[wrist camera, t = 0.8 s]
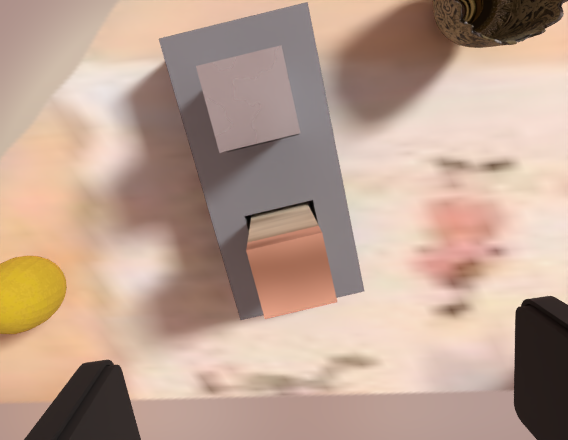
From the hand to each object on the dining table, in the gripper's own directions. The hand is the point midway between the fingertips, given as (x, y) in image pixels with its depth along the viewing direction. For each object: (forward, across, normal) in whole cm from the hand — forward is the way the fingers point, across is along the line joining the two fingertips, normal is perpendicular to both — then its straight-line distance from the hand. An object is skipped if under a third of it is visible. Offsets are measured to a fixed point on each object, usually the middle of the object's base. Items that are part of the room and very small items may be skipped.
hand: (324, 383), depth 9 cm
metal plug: (+25, +1, -7) cm, 26 cm away
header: (+25, +1, -2) cm, 25 cm away
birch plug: (+24, 0, +3) cm, 25 cm away
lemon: (+25, +21, +4) cm, 33 cm away
